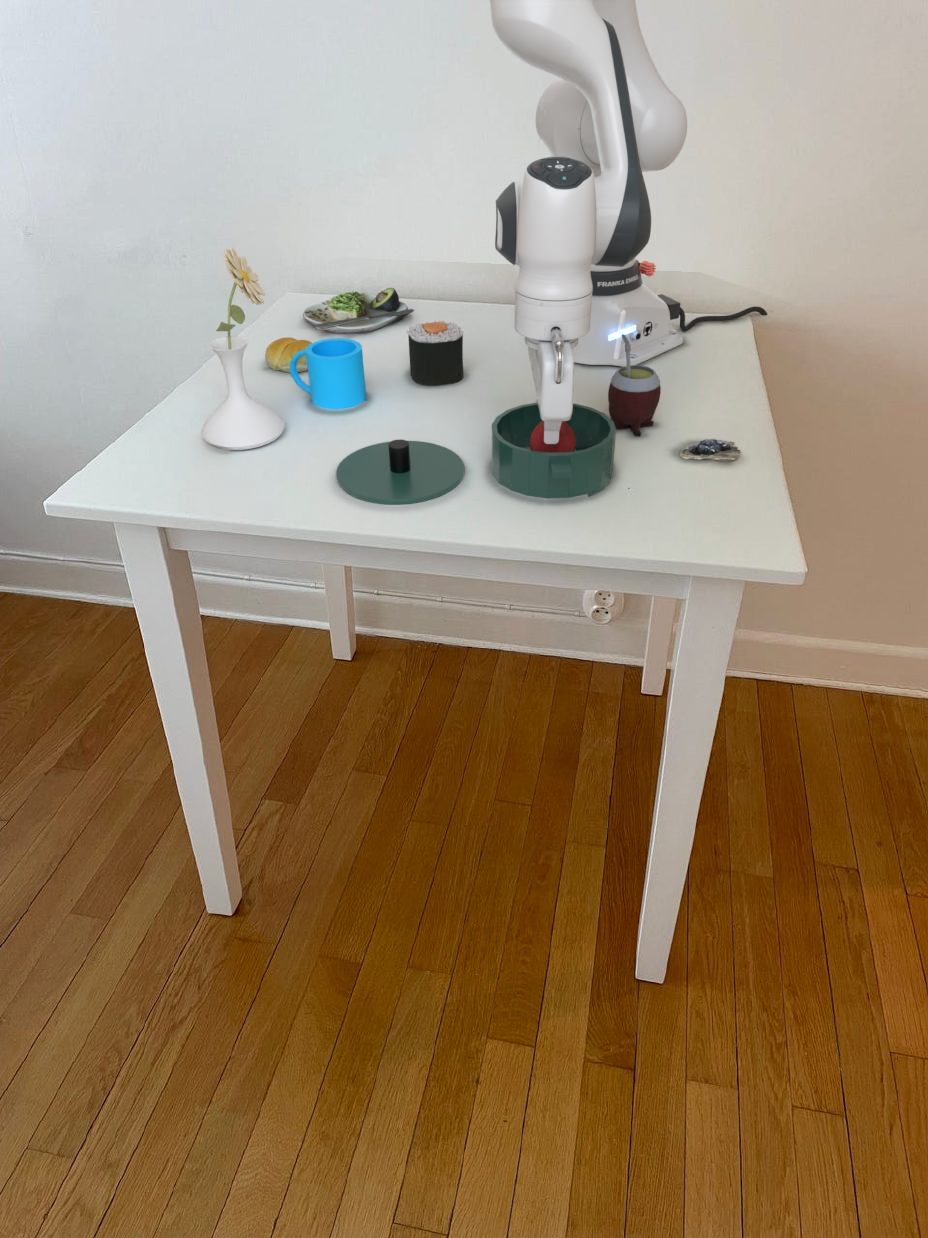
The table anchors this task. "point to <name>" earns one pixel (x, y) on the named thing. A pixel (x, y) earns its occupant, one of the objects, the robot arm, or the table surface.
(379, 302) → the salad plate
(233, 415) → the flower in vase
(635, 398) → the mate gourd
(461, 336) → the sushi
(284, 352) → the bread roll
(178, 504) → the table surface
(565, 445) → the onion
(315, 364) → the mug
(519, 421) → the pot
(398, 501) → the lid
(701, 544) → the table surface
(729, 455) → the blueberries
